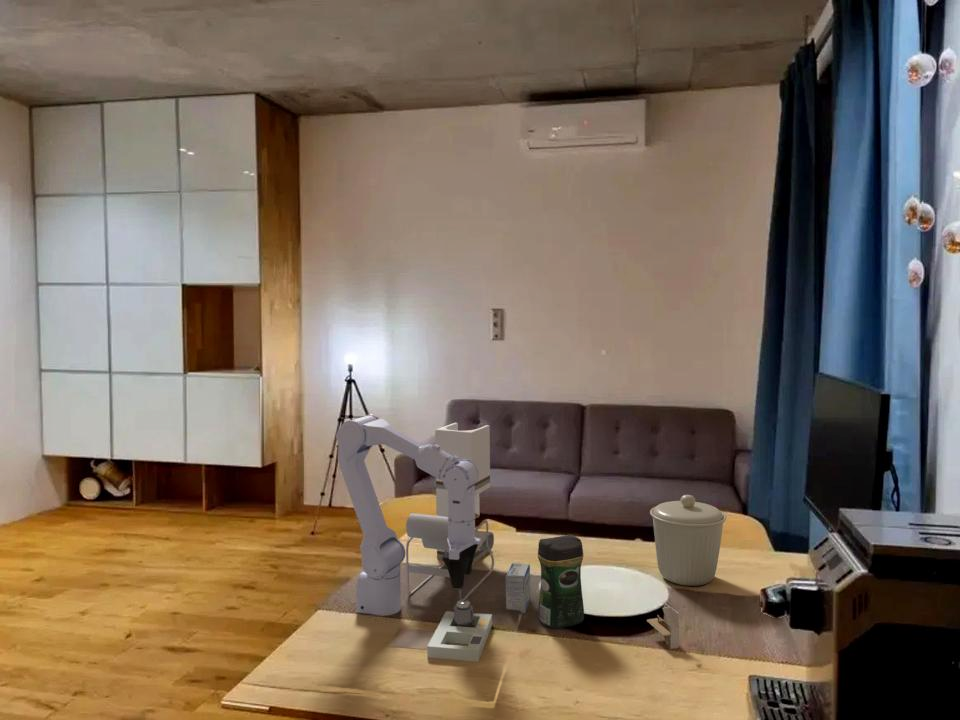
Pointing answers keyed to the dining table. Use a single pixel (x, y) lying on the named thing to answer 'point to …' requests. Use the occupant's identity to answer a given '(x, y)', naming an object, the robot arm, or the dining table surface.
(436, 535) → the chair
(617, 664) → the dining table surface
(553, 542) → the coffee jar
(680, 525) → the canister
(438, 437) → the tall white box
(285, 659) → the dining table surface
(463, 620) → the plug
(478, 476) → the robot arm
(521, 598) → the medicine box
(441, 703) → the dining table surface
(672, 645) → the architectural model
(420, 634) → the brown square tile
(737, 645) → the dining table surface
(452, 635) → the port box
